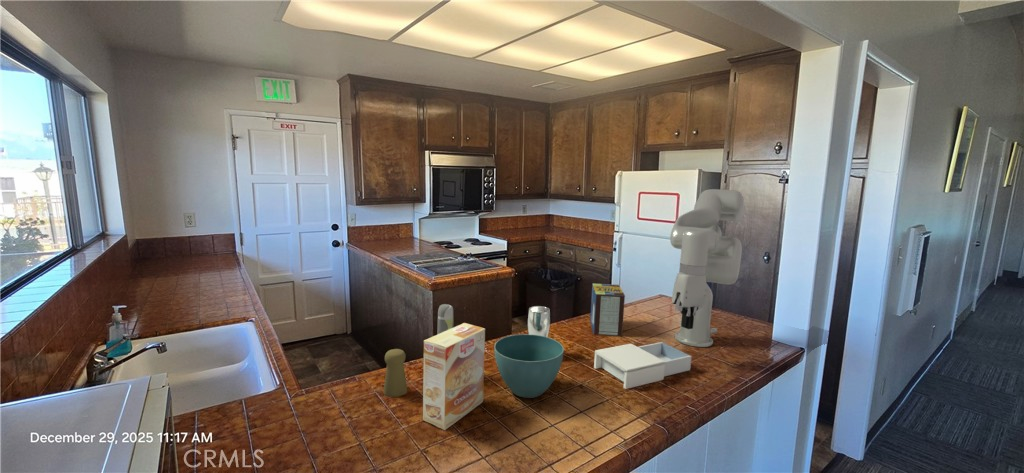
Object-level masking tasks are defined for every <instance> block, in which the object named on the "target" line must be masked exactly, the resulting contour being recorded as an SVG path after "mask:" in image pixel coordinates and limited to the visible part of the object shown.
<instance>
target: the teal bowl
mask: <svg viewBox="0 0 1024 473" xmlns="http://www.w3.org/2000/svg"><path fill="white" fill-rule="evenodd" d="M493 349H494V358H495V363H496V365H497V370H498V372H499V375H500V377H501V379H502V380H503V382H504V383H505V385H506V387H508V388H509V390H510V391H511V392H512V393H513V394H514V395H515V396H517V397H519V398H520V397H521V398H525V399H533V398H537V397H539V396H542V395H543V394H544V393H545V392H546V391H547V390H548V389H549V388H550V386H551V385H552V384H553V383H554V381H555V379H556V377H557V376H558V374H559V372H560V369H561V365H562V362H563V358H564V351H565V350H564V346H563V345H562V343H561V342H559V341H557V340H556V339H554V338H551V337H549V336H548V337H545V336H540V335H531V334H529V333H528V334H527V333H524V334H511V335H509V336H505V337H501V338H500V339H498V340H497V341H495V343H494V348H493Z"/></svg>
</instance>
